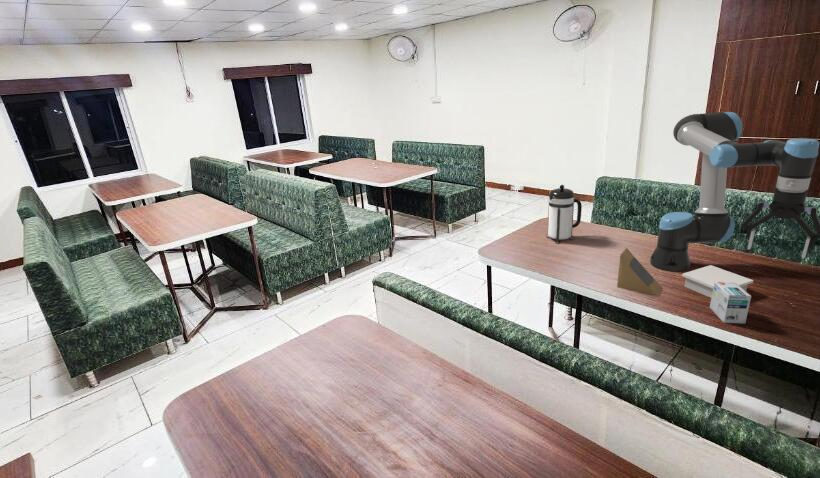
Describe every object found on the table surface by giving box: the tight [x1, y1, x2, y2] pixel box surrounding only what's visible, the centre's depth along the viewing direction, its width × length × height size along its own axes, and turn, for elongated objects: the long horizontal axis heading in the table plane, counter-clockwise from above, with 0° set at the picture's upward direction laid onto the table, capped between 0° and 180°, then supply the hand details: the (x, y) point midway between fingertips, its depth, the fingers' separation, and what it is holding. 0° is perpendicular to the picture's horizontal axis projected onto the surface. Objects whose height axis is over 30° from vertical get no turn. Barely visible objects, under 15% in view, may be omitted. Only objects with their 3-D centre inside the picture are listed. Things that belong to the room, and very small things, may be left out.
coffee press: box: [545, 184, 583, 243], centre depth 218 cm, size 17×16×30 cm
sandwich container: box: [616, 247, 664, 297], centre depth 163 cm, size 9×15×15 cm, turn 49°
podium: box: [681, 264, 754, 299], centre depth 159 cm, size 16×16×6 cm
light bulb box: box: [709, 282, 752, 324], centre depth 141 cm, size 11×7×11 cm, turn 168°
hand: (775, 252), depth 135 cm, fingers open, 13 cm apart
